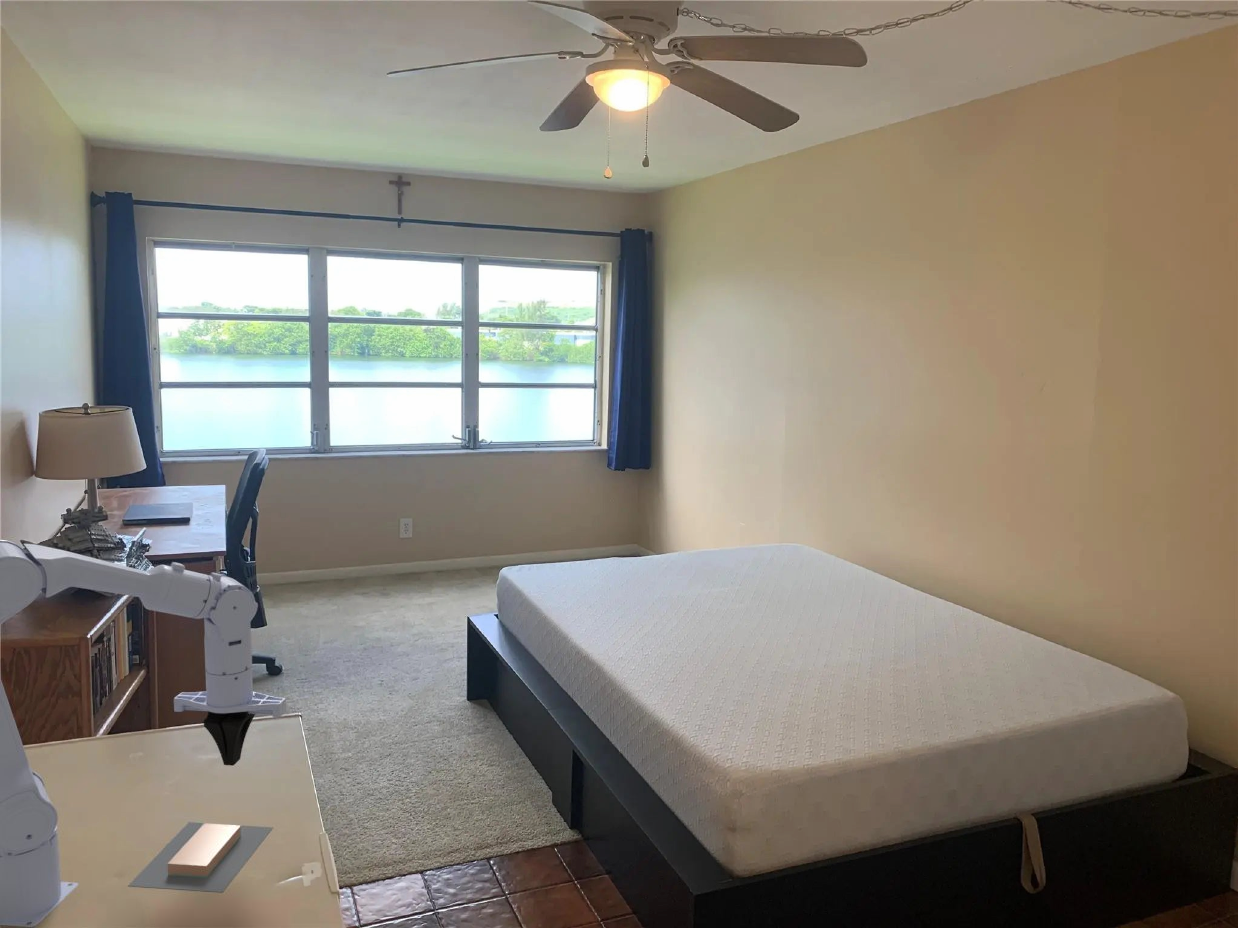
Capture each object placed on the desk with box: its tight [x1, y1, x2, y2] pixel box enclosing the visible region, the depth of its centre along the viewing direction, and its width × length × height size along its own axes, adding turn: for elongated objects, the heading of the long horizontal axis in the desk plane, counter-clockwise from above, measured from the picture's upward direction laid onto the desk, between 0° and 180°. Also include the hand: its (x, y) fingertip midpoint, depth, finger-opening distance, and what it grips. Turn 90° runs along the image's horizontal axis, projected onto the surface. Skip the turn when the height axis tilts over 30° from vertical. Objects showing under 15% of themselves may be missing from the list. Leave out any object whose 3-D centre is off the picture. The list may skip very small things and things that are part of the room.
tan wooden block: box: [168, 822, 241, 878], centre depth 113 cm, size 2×9×5 cm
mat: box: [127, 821, 274, 893], centre depth 113 cm, size 12×14×1 cm
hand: (232, 761), depth 118 cm, fingers closed
